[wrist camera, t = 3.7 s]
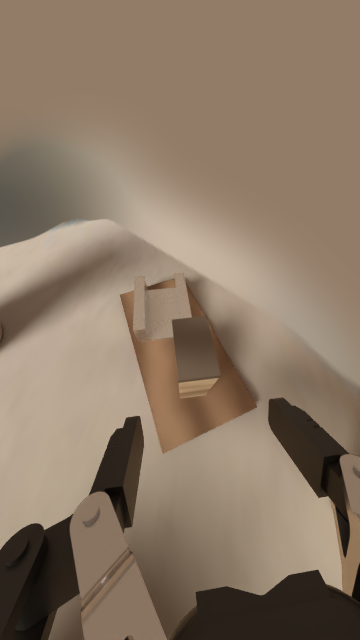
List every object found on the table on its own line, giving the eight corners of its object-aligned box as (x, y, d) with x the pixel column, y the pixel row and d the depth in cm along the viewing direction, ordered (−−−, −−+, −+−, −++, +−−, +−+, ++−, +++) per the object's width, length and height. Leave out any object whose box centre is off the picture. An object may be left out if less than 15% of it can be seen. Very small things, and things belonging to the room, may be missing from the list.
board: (164, 451, 18) (162, 453, 17) (122, 299, 29) (119, 294, 28) (253, 408, 20) (257, 407, 19) (182, 281, 31) (182, 276, 30)
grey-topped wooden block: (205, 395, 19) (220, 375, 12) (180, 398, 19) (178, 380, 12) (198, 353, 22) (206, 315, 14) (175, 356, 22) (171, 319, 14)
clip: (191, 336, 23) (193, 323, 21) (139, 342, 23) (132, 330, 20) (183, 288, 28) (183, 272, 25) (139, 292, 28) (134, 277, 25)
